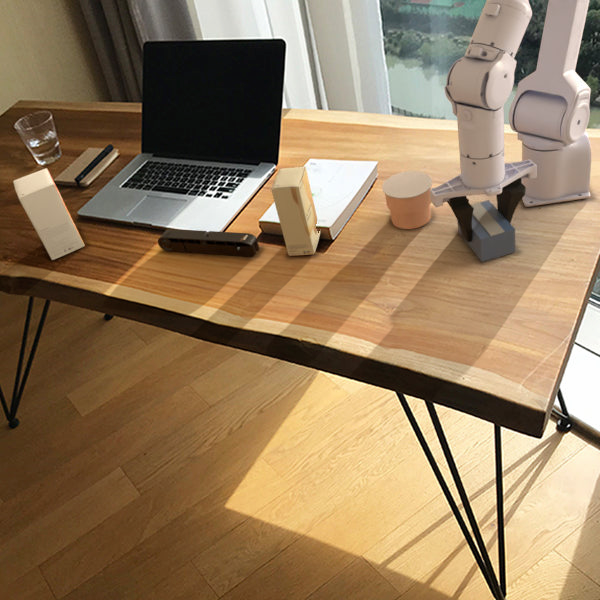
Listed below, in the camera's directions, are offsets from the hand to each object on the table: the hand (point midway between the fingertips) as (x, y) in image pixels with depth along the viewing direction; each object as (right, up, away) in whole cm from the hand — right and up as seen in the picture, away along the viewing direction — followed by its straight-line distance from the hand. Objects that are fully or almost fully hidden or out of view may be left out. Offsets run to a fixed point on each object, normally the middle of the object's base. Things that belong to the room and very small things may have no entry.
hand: (485, 232), depth 98 cm
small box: (-69, 0, +26) cm, 74 cm away
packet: (0, -1, +1) cm, 2 cm away
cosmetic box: (-26, -1, +10) cm, 28 cm away
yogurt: (-9, +3, +9) cm, 14 cm away
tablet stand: (-42, -1, +15) cm, 44 cm away
